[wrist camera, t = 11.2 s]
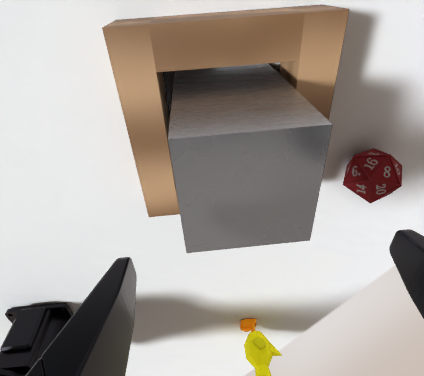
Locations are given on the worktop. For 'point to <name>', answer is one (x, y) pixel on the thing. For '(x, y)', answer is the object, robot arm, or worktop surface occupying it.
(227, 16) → the brown wooden square frame
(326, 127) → the steel block
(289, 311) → the worktop surface
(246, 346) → the toy figure
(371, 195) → the dice
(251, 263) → the worktop surface
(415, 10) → the worktop surface
